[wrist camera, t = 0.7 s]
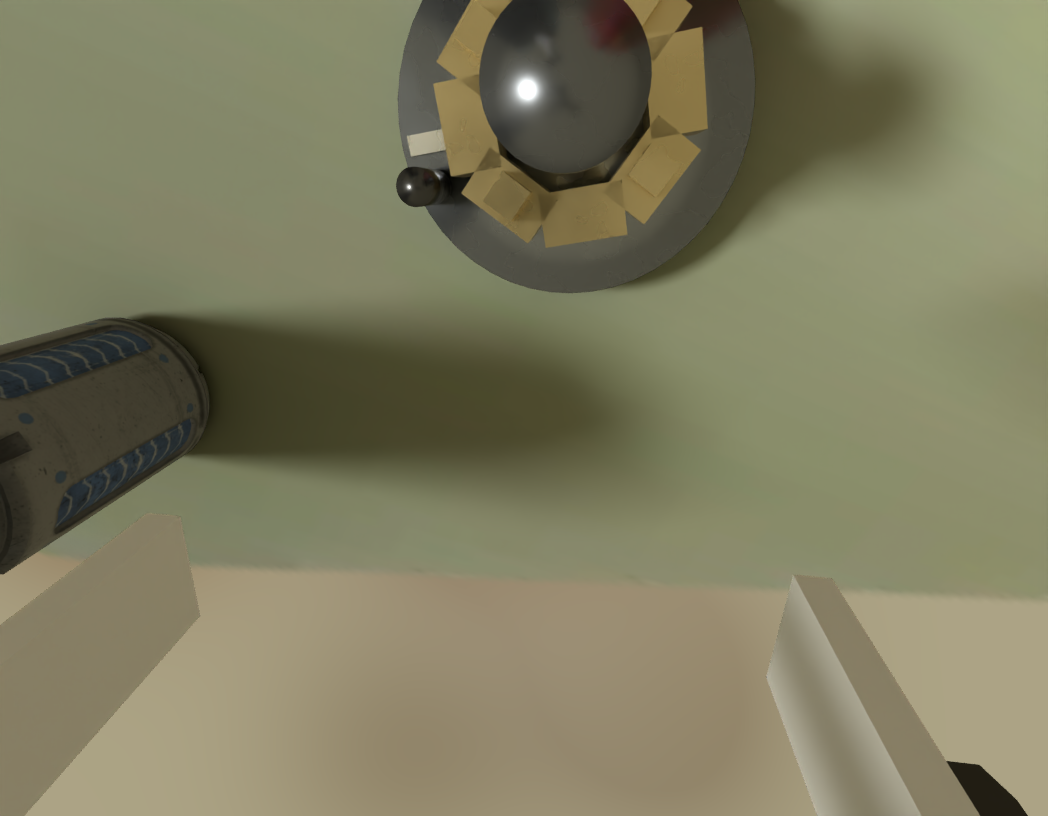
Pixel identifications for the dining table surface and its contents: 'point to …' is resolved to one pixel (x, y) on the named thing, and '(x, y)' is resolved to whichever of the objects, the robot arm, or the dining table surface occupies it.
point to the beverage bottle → (88, 424)
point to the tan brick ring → (587, 208)
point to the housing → (572, 129)
